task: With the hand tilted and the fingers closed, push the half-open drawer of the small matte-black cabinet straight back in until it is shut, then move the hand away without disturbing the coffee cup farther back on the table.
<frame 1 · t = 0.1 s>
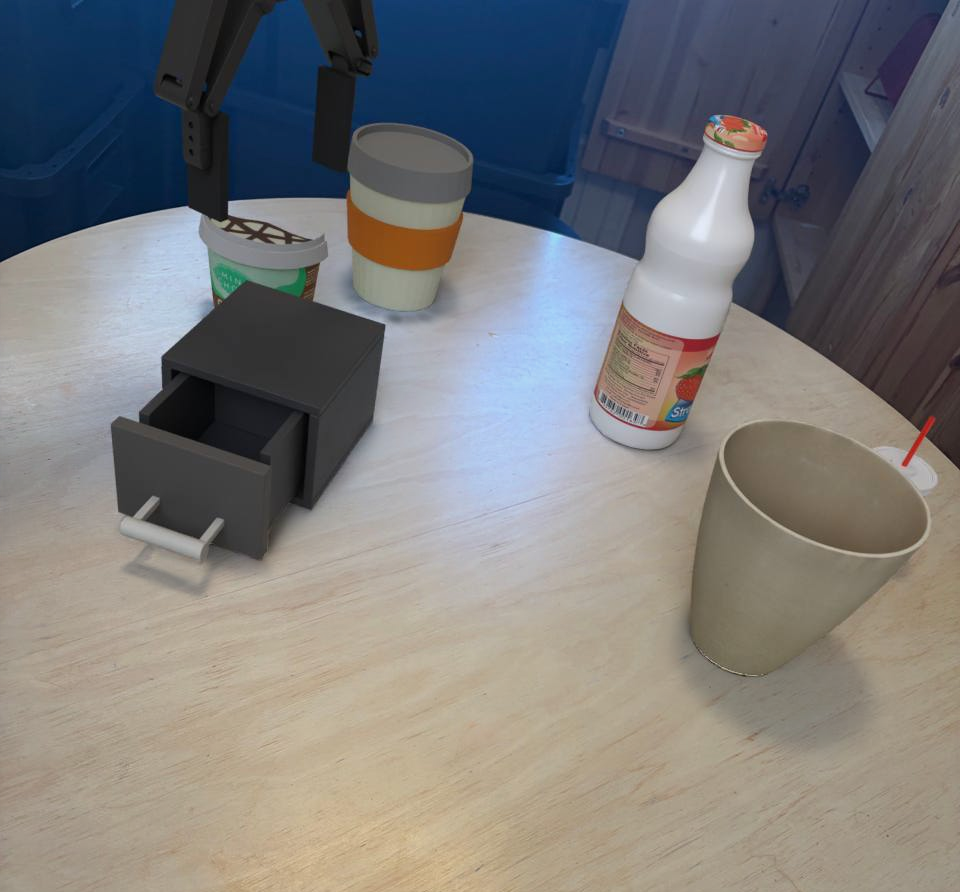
hand: (272, 188, 70), 21 cm above the table, tool pointing down, fingers open, 13 cm apart
drawer: (217, 460, 73), point 5 cm above the table, slide at 7.0 cm
food container: (251, 330, 96), on the table
cabinet: (275, 440, 84), on the table
plant pot: (736, 645, 77), on the table
beverage cup: (853, 548, 90), on the table
fruit juice: (632, 425, 97), on the table
reusable coffee cup: (393, 292, 107), on the table
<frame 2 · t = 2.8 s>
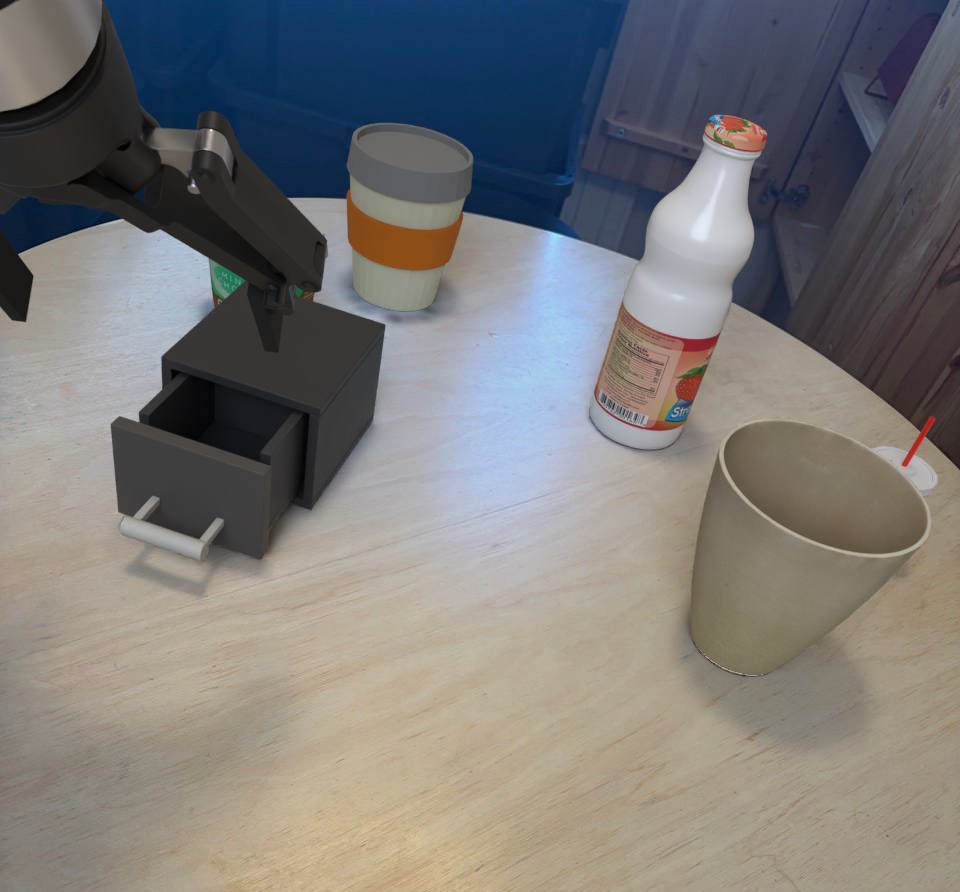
hand: (150, 314, 54), 22 cm above the table, tool tilted 35°, fingers open, 13 cm apart
nothing on the table moved.
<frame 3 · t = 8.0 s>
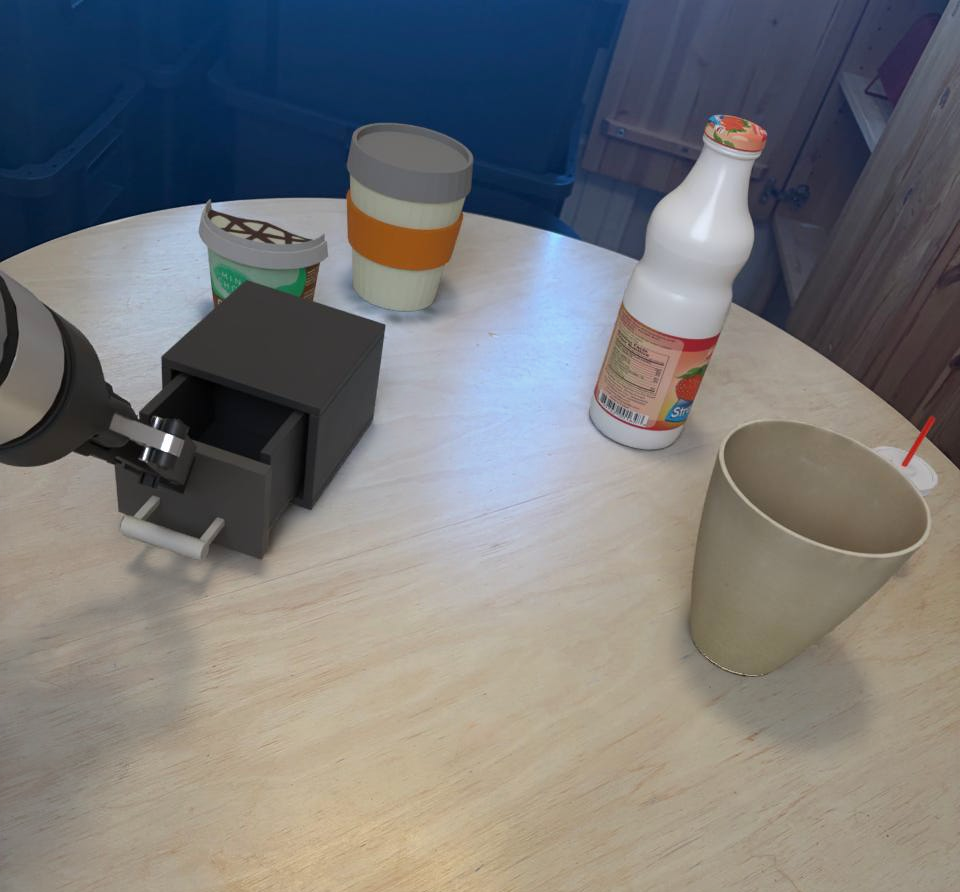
hand: (179, 472, 67), 8 cm above the table, tool tilted 45°, fingers closed
drawer: (218, 460, 73), point 5 cm above the table, slide at 7.0 cm, touching gripper
everything else where it was.
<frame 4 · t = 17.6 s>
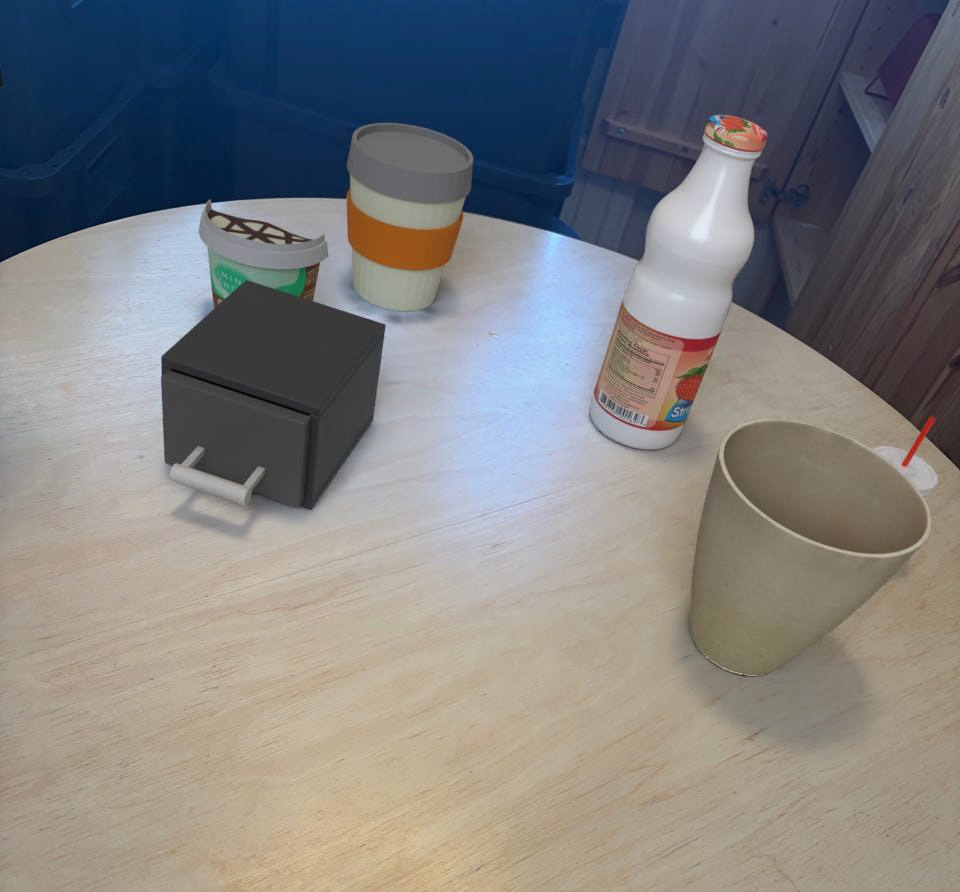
drawer: (257, 414, 78), point 5 cm above the table, slide at 0.0 cm, touching cabinet
everything else where it was.
at the end: drawer slide at 0.0 cm; reusable coffee cup moved 0.2 cm from its start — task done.
